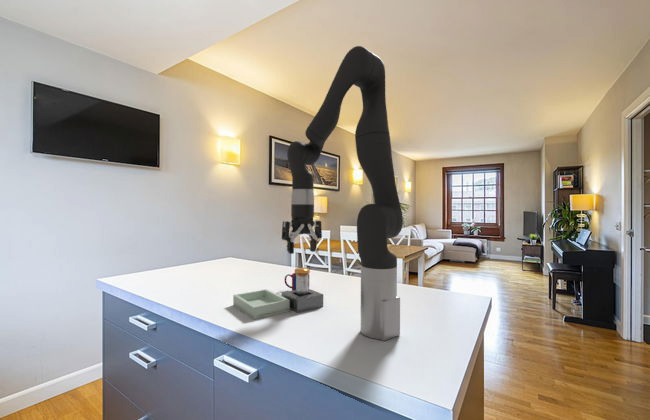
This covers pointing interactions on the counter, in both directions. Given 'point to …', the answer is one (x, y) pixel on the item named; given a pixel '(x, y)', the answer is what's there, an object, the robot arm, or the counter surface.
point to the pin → (302, 281)
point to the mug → (294, 281)
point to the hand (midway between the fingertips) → (302, 252)
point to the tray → (261, 303)
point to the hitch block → (304, 300)
